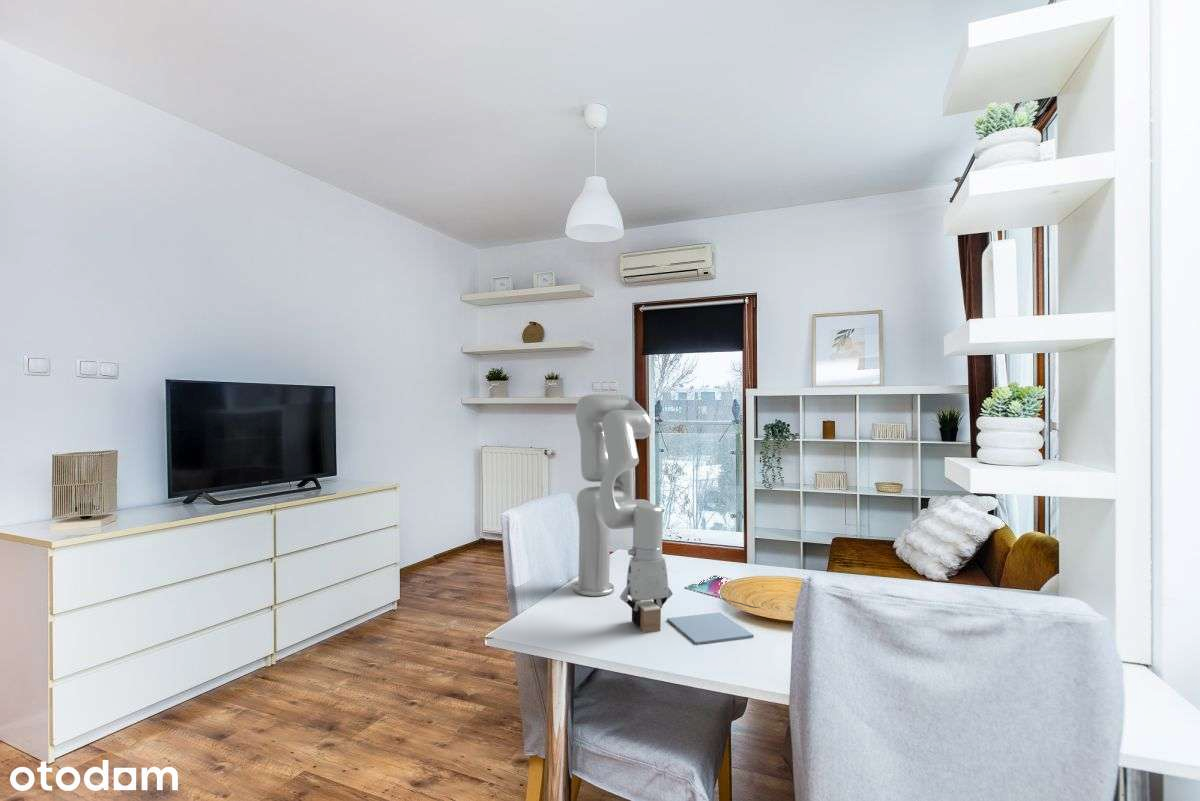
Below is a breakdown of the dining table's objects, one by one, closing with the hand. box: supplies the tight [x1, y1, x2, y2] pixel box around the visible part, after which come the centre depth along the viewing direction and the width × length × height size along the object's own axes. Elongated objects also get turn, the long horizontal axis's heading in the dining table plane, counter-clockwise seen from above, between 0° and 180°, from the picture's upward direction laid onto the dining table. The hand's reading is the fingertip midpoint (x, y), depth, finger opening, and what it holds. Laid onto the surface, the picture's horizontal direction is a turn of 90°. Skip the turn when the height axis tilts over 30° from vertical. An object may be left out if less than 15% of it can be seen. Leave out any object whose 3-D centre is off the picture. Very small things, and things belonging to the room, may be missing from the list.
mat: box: [666, 612, 755, 646], centre depth 148 cm, size 16×16×1 cm
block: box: [637, 600, 662, 634], centre depth 149 cm, size 8×4×6 cm, turn 19°
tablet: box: [684, 575, 732, 599], centre depth 179 cm, size 19×25×1 cm
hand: (645, 623), depth 149 cm, fingers open, 4 cm apart
